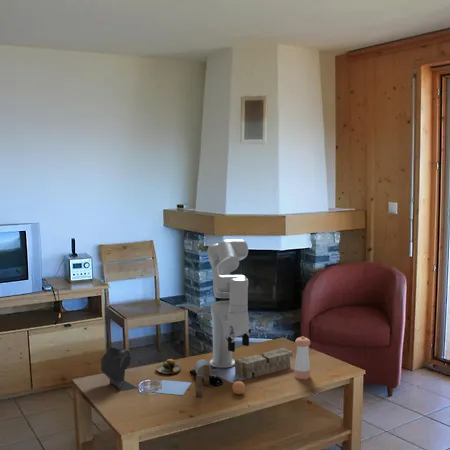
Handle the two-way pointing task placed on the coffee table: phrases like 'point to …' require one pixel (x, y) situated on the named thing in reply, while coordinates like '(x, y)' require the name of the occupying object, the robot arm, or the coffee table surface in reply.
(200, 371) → the ceramic mug
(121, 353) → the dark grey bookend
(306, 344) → the salt shaker
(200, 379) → the post
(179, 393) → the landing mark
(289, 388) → the coffee table surface
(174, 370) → the fruit plate
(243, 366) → the block tower
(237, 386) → the ball
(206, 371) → the post
